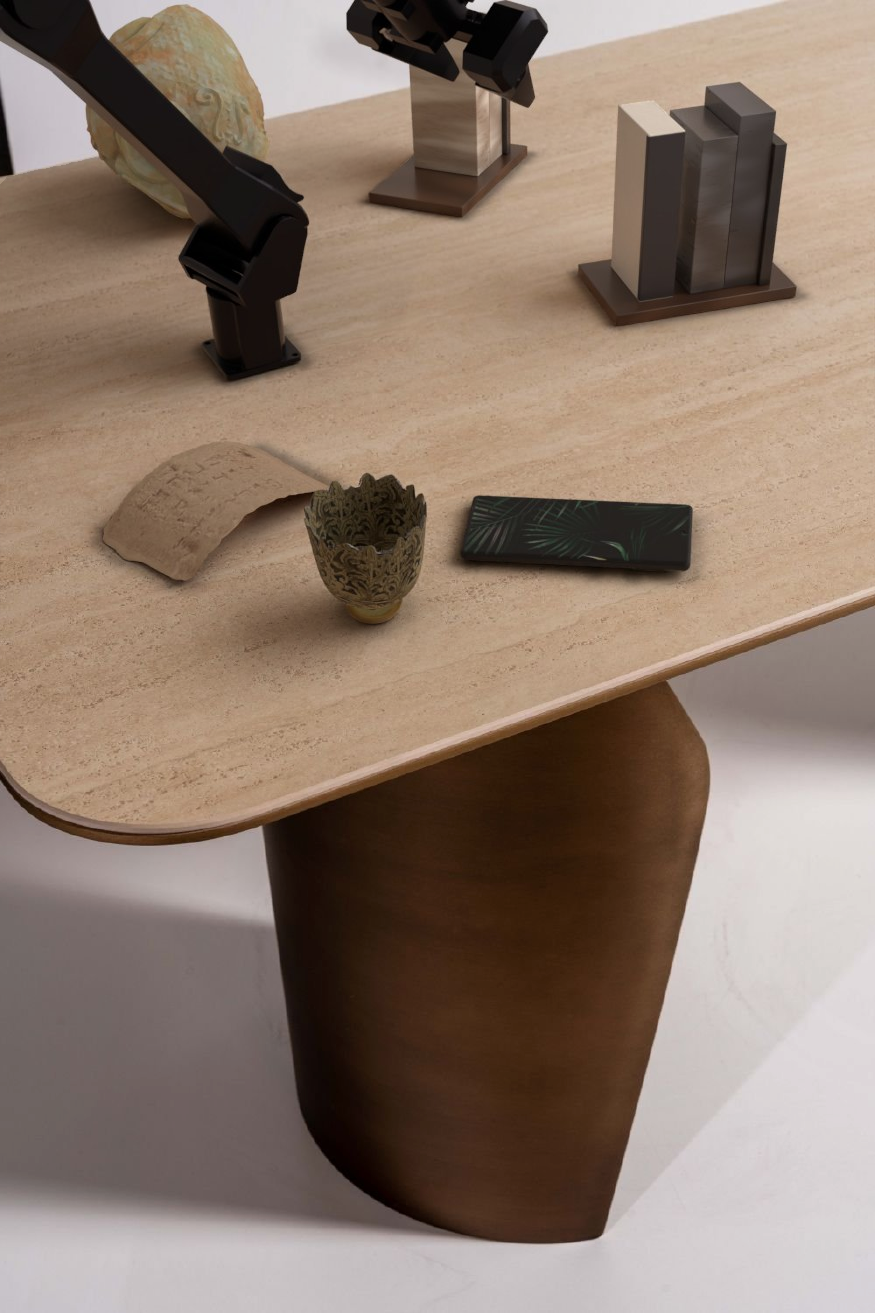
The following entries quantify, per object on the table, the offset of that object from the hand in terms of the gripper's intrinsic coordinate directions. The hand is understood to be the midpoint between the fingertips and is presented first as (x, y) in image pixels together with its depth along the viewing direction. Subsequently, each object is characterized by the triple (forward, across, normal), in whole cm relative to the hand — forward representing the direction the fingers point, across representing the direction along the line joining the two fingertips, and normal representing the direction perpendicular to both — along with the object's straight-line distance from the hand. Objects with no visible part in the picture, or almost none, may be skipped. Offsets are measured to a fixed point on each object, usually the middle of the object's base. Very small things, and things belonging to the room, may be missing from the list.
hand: (492, 89), depth 120 cm
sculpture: (+3, +30, +19) cm, 36 cm away
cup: (-16, -32, +41) cm, 55 cm away
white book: (+12, -15, +7) cm, 20 cm away
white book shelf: (+16, +15, +3) cm, 22 cm away
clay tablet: (-16, -17, +42) cm, 48 cm away
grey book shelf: (+15, -17, +4) cm, 23 cm away
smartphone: (-6, -36, +30) cm, 47 cm away
